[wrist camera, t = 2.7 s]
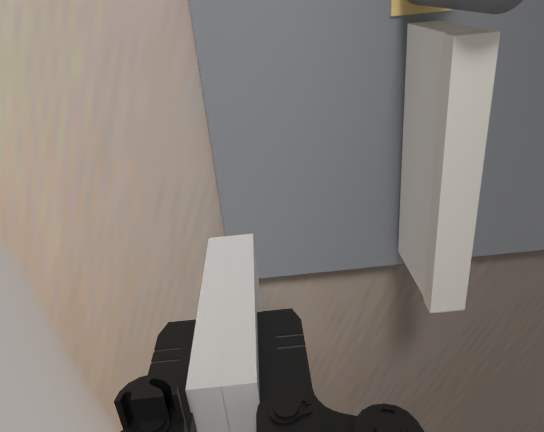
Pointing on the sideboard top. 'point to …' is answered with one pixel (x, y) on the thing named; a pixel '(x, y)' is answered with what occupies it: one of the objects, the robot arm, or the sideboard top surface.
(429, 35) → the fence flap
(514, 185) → the card
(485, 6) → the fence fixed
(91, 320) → the sideboard top surface
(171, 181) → the sideboard top surface
